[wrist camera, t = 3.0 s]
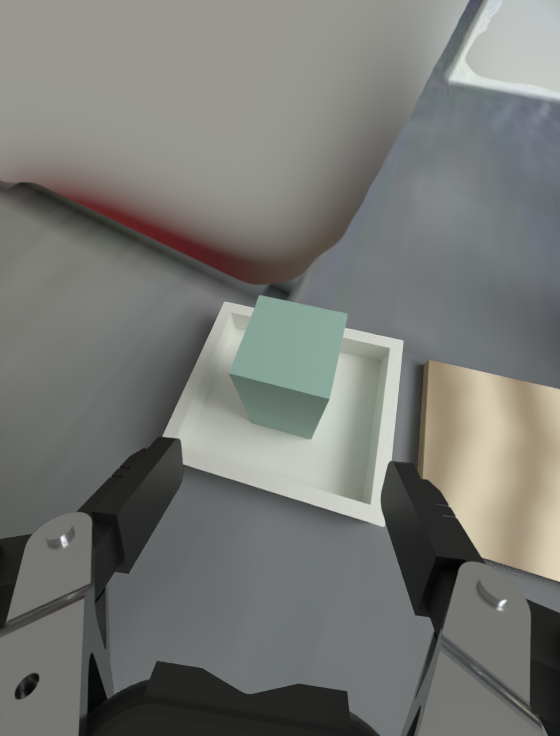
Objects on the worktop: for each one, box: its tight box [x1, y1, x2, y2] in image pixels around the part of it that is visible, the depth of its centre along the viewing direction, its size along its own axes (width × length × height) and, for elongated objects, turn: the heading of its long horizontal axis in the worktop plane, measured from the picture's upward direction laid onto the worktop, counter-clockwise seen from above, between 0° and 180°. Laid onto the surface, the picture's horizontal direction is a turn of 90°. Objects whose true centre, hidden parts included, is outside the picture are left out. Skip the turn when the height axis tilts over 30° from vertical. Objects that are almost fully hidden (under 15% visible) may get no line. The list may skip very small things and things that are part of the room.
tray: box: [162, 302, 403, 527], centre depth 22 cm, size 16×14×3 cm
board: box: [417, 360, 560, 582], centre depth 21 cm, size 14×14×1 cm
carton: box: [229, 295, 348, 439], centre depth 18 cm, size 5×5×10 cm
